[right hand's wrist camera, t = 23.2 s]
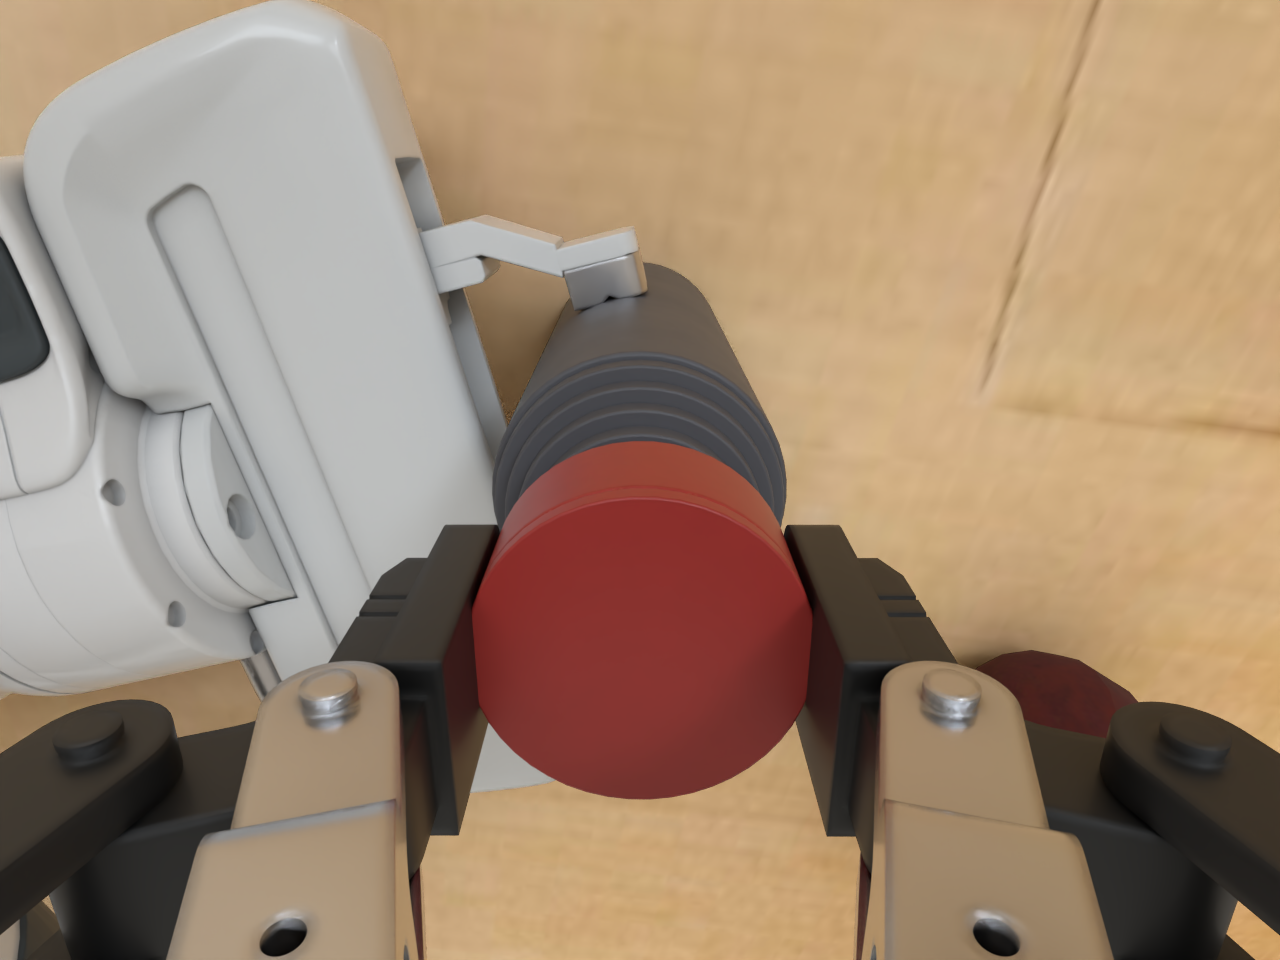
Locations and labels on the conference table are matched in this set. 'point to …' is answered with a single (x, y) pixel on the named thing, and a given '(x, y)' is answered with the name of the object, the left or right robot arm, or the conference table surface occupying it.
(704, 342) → the bottle
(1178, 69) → the conference table surface
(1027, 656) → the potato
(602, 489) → the cap
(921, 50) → the conference table surface
